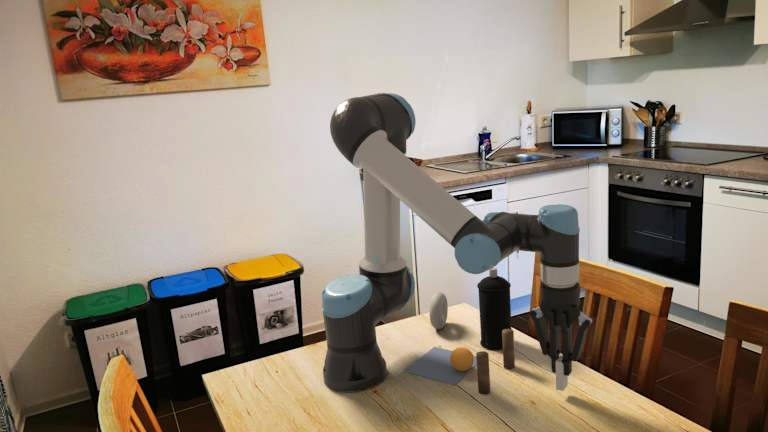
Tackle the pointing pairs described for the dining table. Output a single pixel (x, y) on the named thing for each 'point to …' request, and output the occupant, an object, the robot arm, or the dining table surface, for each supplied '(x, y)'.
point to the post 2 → (508, 348)
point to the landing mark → (438, 367)
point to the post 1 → (483, 372)
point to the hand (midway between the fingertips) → (561, 387)
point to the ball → (461, 359)
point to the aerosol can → (494, 309)
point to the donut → (438, 310)
